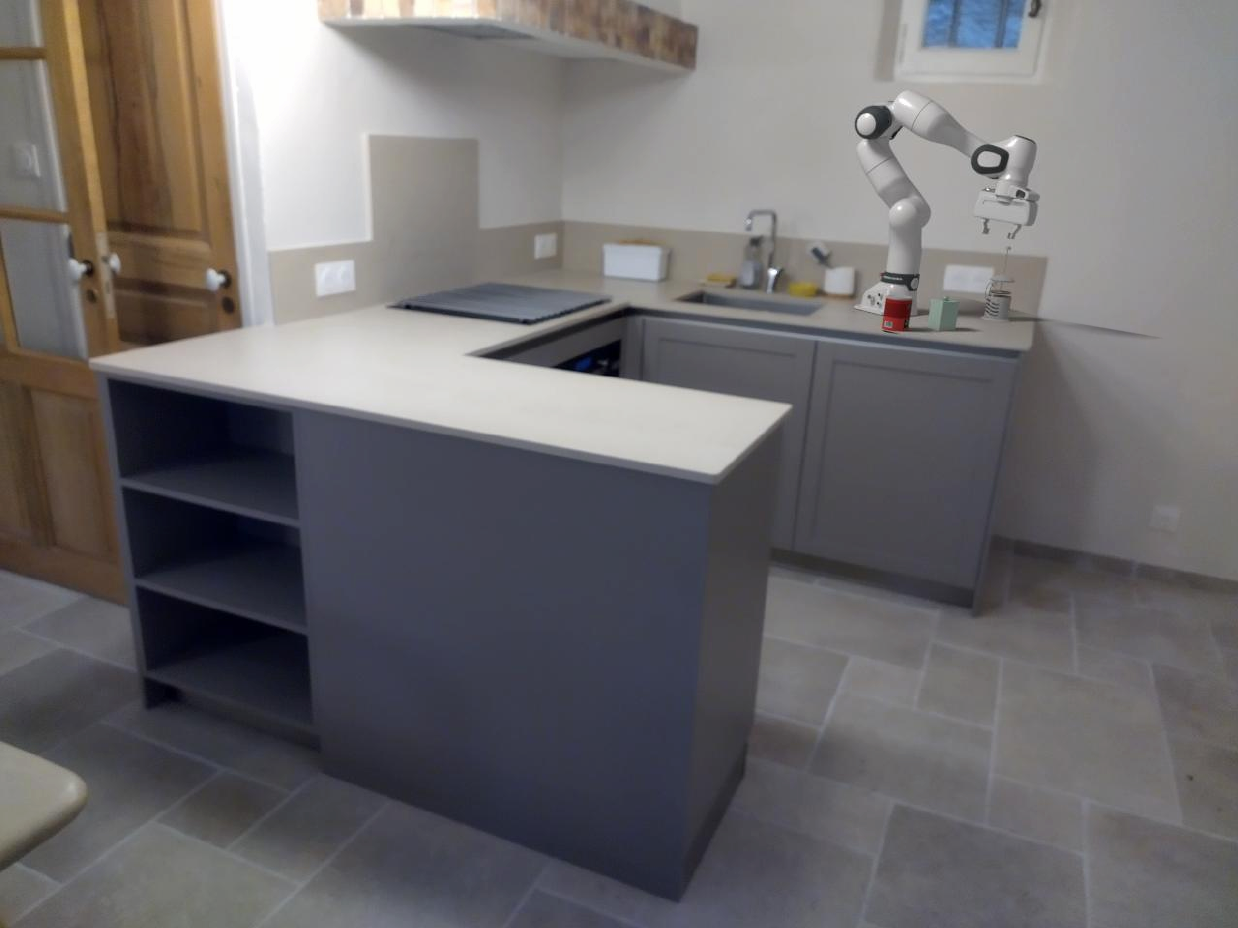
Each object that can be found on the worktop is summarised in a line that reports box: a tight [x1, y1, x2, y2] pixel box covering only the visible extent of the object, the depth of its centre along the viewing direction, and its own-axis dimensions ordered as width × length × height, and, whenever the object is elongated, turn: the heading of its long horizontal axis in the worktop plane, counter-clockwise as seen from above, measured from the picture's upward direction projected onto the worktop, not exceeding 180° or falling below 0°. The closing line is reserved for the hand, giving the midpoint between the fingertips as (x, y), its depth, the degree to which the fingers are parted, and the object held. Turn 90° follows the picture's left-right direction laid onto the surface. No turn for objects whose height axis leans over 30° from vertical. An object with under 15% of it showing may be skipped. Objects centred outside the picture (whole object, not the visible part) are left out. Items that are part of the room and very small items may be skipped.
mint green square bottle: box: [926, 295, 960, 331], centre depth 286 cm, size 6×6×10 cm
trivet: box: [922, 325, 963, 333], centre depth 287 cm, size 9×9×1 cm
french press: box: [980, 245, 1016, 323], centre depth 312 cm, size 10×12×25 cm
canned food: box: [881, 295, 913, 335], centre depth 282 cm, size 8×8×11 cm
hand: (997, 236), depth 288 cm, fingers open, 8 cm apart
